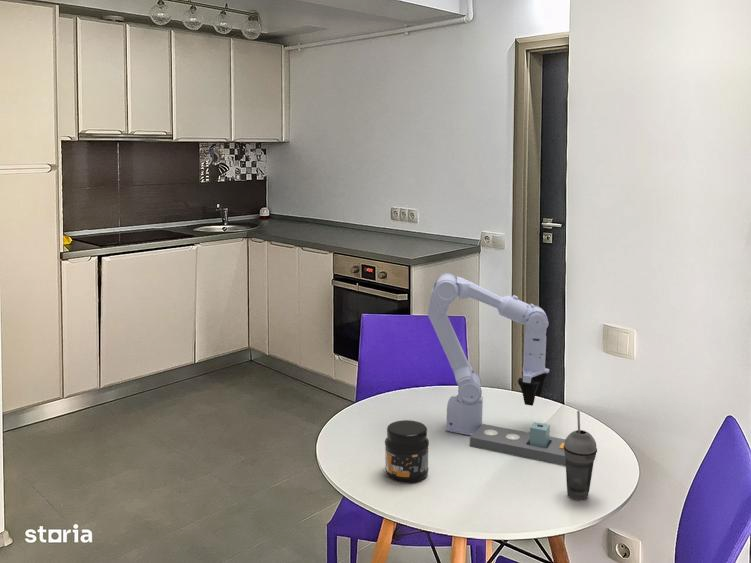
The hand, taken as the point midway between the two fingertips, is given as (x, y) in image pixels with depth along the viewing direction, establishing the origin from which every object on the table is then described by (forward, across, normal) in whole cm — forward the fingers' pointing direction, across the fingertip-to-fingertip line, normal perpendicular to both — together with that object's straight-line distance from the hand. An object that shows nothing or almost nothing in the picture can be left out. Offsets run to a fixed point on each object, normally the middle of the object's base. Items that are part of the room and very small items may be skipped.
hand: (532, 400), depth 195 cm
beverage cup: (+10, -30, -19) cm, 37 cm away
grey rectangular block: (+10, -11, -5) cm, 15 cm away
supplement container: (+10, -38, +20) cm, 44 cm away
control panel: (+9, -11, -1) cm, 15 cm away
